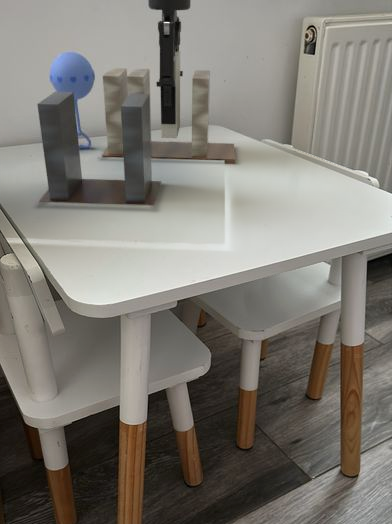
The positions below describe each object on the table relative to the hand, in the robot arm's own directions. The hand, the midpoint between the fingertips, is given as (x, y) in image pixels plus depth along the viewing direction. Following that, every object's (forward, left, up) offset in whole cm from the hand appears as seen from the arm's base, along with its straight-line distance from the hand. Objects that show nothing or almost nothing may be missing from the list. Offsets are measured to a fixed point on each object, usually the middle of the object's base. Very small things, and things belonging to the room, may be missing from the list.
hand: (170, 117), depth 110 cm
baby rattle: (-19, +2, -7) cm, 21 cm away
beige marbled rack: (0, 0, -7) cm, 7 cm away
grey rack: (-9, -27, -7) cm, 29 cm away
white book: (0, 0, -3) cm, 3 cm away
